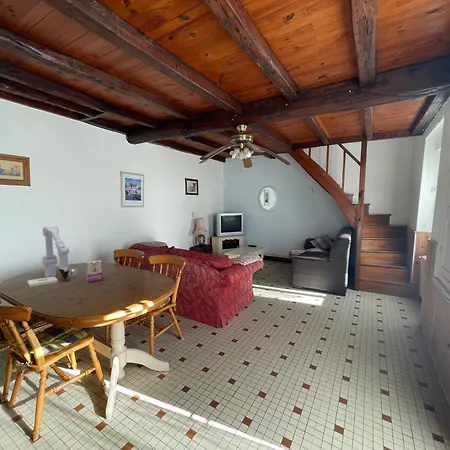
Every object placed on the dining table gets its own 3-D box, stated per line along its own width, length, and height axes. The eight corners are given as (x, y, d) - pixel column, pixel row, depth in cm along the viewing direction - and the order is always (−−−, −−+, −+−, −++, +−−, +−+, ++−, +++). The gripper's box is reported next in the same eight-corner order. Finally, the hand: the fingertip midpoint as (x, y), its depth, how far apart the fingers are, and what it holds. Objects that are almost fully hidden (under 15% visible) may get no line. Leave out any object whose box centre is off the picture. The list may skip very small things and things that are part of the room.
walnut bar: (60, 280, 201) (60, 273, 200) (67, 278, 204) (67, 272, 204) (61, 281, 199) (60, 273, 198) (68, 279, 202) (67, 272, 202)
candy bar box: (101, 278, 207) (100, 260, 206) (102, 280, 203) (102, 261, 202) (86, 281, 200) (85, 261, 199) (87, 282, 196) (87, 263, 195)
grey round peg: (68, 276, 212) (68, 269, 212) (75, 274, 216) (75, 268, 216) (70, 277, 208) (70, 270, 208) (77, 276, 212) (77, 269, 212)
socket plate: (27, 283, 192) (27, 280, 192) (54, 278, 204) (54, 276, 204) (29, 286, 183) (29, 284, 183) (57, 282, 196) (57, 279, 196)
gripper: (71, 263, 198) (71, 279, 199) (67, 259, 208) (67, 275, 209) (61, 264, 193) (61, 280, 194) (57, 261, 203) (57, 276, 204)
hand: (64, 278), depth 201 cm, fingers open, 6 cm apart
